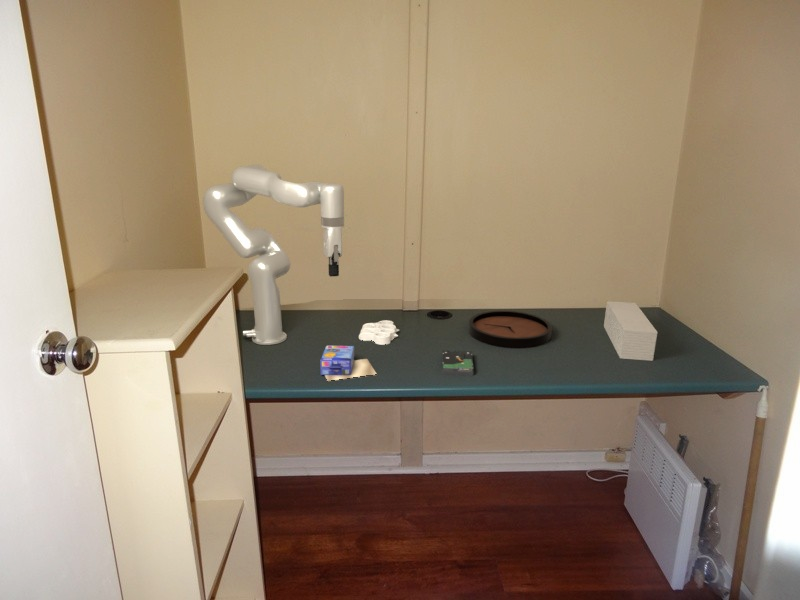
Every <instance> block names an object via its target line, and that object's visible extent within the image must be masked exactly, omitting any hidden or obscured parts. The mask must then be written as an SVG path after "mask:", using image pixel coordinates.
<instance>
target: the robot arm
mask: <svg viewBox="0 0 800 600" xmlns="http://www.w3.org/2000/svg"><path fill="white" fill-rule="evenodd" d="M230 179H231V182H227V183H222V184H216V185H213V186H211V187H209V188H207V189H206V190H205V192H204V194H203V197H202V206H203V210H204V213H205V214H206V215H205V216H206V217H207V218H208V219H209V222H210V221H211V223H212V224H213V226H215V227H216V228H217V230H218V231H219V232H220V234H222V235H223V237H224V239H225V240H226V241H227V242H228V244H229V245H230V246H231V248H232V249H233V250H234V251H235V252H236V254H237V255H238V256H239V257H240V258H243V259H249V258H253V257H255V258H254V259H253V260H252V261H250V263H249V264H248V268H247V274H248V277H249V281H250V284H251V285H250V286H251V291H252V292H251V293H252V301H253V313H254V314H253V317H254V326H253V328H252V329H250V330H249V329H247V330H245V329H244V330H243V331H242V335H243V336H244V337H245V336H246V338H251V340H252V343H254V344H256V345H260V346H261V345H262V346H271V345H278V344H280V343H283V342H284V341H286V340H287V338H288V337H287V336H288V335H287V333H286V332H284V331H283V324H282V308H281V295H280V289H279V287H278V284H277V281H276V279H278V278H281V277H282V276H284V275H286V274H287V273H289V271H290V269H291V261H290V258H289V256H288V254H287V253H286V252H285V250H284V249H283V247H282V246H281V245H280V243H278V241H277V240H276V238H275V237H274V236H273V235H272V233H270V231H268V230H267V229H265V228H263V227H255V228H249V227H248V226H247V224H245V222H244V221H243V219H242V218H241V217H240V216H238V215H237V213H235V212H233V211H232V210H230V208H231V209H232V208H235V207H238V206H239V207H240V206H243V205H245V204H246V203H249V201H251V200H252V199H254V198H255V197H256V196H257V195H258V196H264V197H267V198H271V199H273V201H275V202H277V203H279V204H282V205H285V206H291V207H295V208H307V207H311V206H316V205H320V218H321V219H320V222H321V223H320V224H321V225H320V226H321V228H323V231H322V233H323V235H322V236H323V237H322V241H323V243H322V252H323V254H324V256H325V257H326V258H327V259H328V265H327V266H328V276H329V277H331V278H332V277H339V276H340V274H339V273H340V268H339V267H340V264H339V261H340V260H339V258H341V257H342V255H343V240H342V239H343V238H342V228H344V227H345V188H344V186H343V185H342V184H340V183H333V182H332V183H330V182H329V183H324V182H321V181H308V182H301V183H297V182H293V181H292V182H291V181H288V180H287V181H286V180H283V179H282V176H281V175H280V174H279V173H278V172H276V171H275V172H274V171H270V170H267V169H266V167H264V166H262V165H259V164H251V165H242V166H239V167H236V168H235V169H234V170H233V172H232V174H231V177H230ZM256 256H257V257H256Z"/></svg>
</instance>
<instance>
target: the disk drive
mask: <svg viewBox="0 0 800 600" xmlns="http://www.w3.org/2000/svg"><path fill="white" fill-rule="evenodd" d="M474 368H475V367H474V359H473V351H466V350H454V351H450V350H448V349H447V350H444V349H442V353H441V375H451V376H453V375H454V376H455V375H456V376H474Z"/></svg>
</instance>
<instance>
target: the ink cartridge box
mask: <svg viewBox="0 0 800 600" xmlns="http://www.w3.org/2000/svg"><path fill="white" fill-rule="evenodd" d="M323 350H324V351H323V352H322V356H321V358H320V361H319V363H320V364H319V365H320V375H321V376H325V375H351V370H352V366H353V362H354V360H355V346H354V345H326V346H325V349H323Z"/></svg>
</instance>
